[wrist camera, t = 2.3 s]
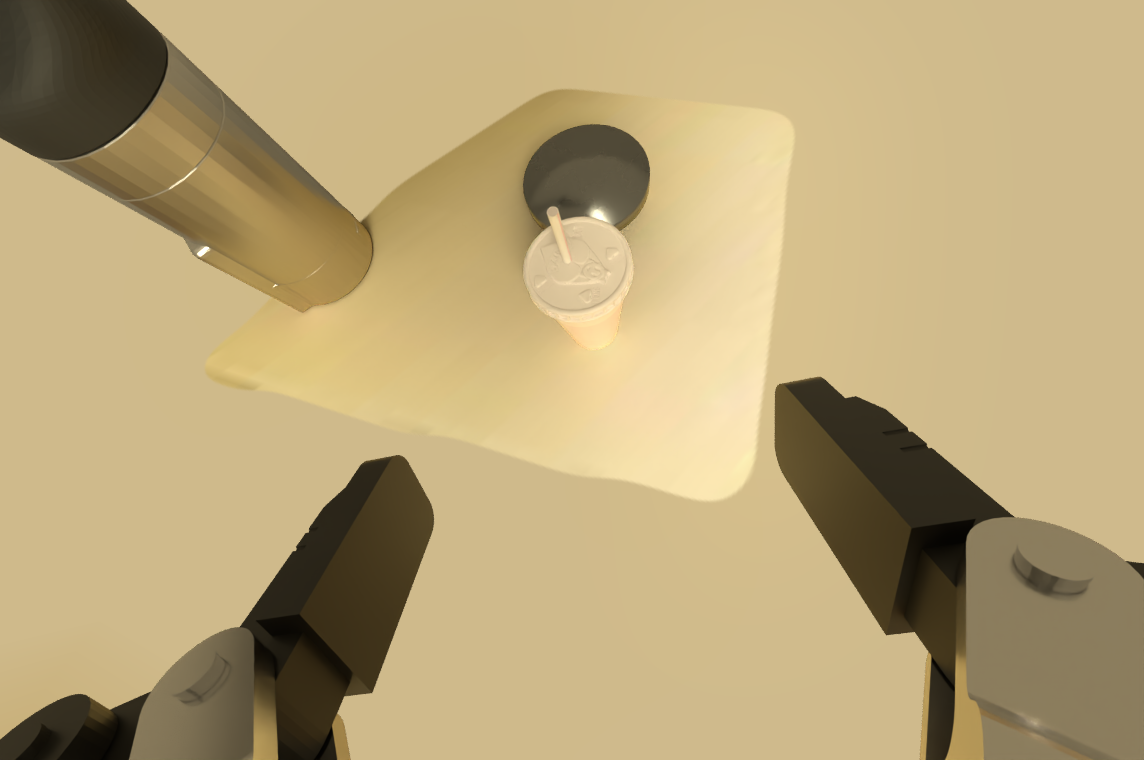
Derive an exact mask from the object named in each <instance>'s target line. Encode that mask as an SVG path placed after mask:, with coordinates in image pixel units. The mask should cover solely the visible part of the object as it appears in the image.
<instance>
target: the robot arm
mask: <svg viewBox="0 0 1144 760" xmlns="http://www.w3.org/2000/svg"><path fill="white" fill-rule="evenodd" d="M0 138H2V139H3V140H5V141H7V142H9V143H11V144H13V145H14V146H16V147H18V148H20V149H22V150H24V151H25V152H27V153H29V154H31V155H33V156H35V157H37V158H39V159H41V160H42V161H44V162H46V163H48V164H50V165H52V166H54V167H55V168H57V169H59V170H61V171H63V172H64V173H66V174H68V175H70V176H72V177H74V178H75V179H77V180H79V181H81V182H83V183H84V184H86V185H88V186H90V187H92V188H94V189H95V190H97V191H99V192H101V193H103V194H105V195H106V196H108V197H110V198H112V199H114V200H116V201H117V202H119V203H121V204H123V205H125V206H126V207H128V208H130V209H132V210H134V211H135V212H138V213H139V214H141V215H143V216H145V217H146V218H148V219H150V220H152V221H154V222H155V223H157V224H159V225H161V226H163V227H164V228H166V229H168V230H170V231H172V232H174V233H175V234H177V235H179V236H181V237H183V238H184V240H185V241H186V243H187V245H188V247H189V249H190V250H191V252H192V253H193V255H194V256H196V257H197V258H198V259H200V260H202V261H204V262H206V263H208V264H210V265H212V266H213V267H215V268H217V269H219V270H221V271H223V272H225V273H227V274H229V275H231V276H233V277H235V278H236V279H238V280H240V281H242V282H244V283H246V284H248V285H250V286H252V287H254V288H256V289H258V290H259V291H261V292H263V293H265V294H267V295H269V296H271V297H273V298H275V299H277V300H279V301H281V302H283V303H284V304H286V305H288V306H290V307H292V308H294V309H296V310H298V311H300V312H304V311H306V310H307V309H308V308H310V307H311V306H315V305H323V304H328V303H331V302H334V301H336V300H338V299H340V298H342V297H344V296H345V295H347V294H348V293H349V292H350V291H352V290H353V289H354V288H355V287H356V286H357V285H358V284H359V282H360V281H361V280H362V278H363V277H364V275H365V274H366V272H367V270H368V267H369V265H370V262H371V257H372V242H371V238H370V235H369V233H368V231H367V230H366V228H365V227H364V226H363V225H362V224H361V223H360V222H359V221H358V220H357V219H356V218H355V217H354V216H353V214H351V213H350V212H349V211H348V210H347V209H346V208H345V207H343V206H342V205H341V204H340V203H339V202H338V201H337V200H336V199H335V198H334V197H333V196H332V195H331V194H330V193H329V192H328V191H327V190H326V189H325V188H324V187H323V186H321V185H320V184H319V183H318V182H317V181H316V180H315V179H314V178H313V177H312V176H311V175H310V174H309V173H308V172H307V171H305V169H304V168H302V167H301V166H300V165H299V164H298V163H297V162H296V161H295V160H294V159H293V158H292V157H291V156H290V155H289V154H288V153H287V152H286V151H285V150H283V148H281V147H280V146H279V145H278V144H277V143H276V142H275V141H274V140H273V139H272V138H271V137H270V136H269V135H268V134H267V133H266V132H265V131H264V130H263V129H262V128H261V127H259V126H258V125H257V124H256V123H255V122H254V121H253V120H252V119H251V118H250V117H249V116H248V115H247V114H246V113H245V112H244V111H243V110H241V108H239V107H238V106H237V105H236V104H235V103H234V102H233V101H232V100H231V99H230V98H229V97H228V96H227V95H226V94H225V93H224V92H223V91H222V90H221V89H220V88H218V87H217V86H216V85H215V84H214V83H213V82H212V81H211V80H210V79H209V78H208V77H207V76H206V75H205V74H204V73H203V72H202V71H201V70H199V69H198V68H197V67H196V66H195V65H194V64H193V63H192V62H191V61H190V60H189V59H188V58H187V57H186V56H185V55H184V54H183V53H182V52H181V51H180V50H178V49H177V48H176V47H175V46H174V45H173V44H172V43H171V42H170V41H169V40H168V39H167V38H166V37H165V36H164V35H163V34H162V33H160V32H159V31H158V30H157V29H156V28H155V27H154V26H153V25H152V24H151V23H150V22H149V21H148V20H147V19H146V18H144V17H143V16H142V15H141V14H140V13H139V12H138V11H137V10H136V9H135V8H134V7H132V5H130V4H129V3H128V2H127V1H126V0H0ZM775 451H776V456H777V460H778V463H779V466H780V469H781V471H782V473H783V474H784V476H785V478H786V480H787V481H788V483H789V484H790V486H791V487H792V489H793V491H794V492H795V493H796V495H797V497H798V498H799V500H800V501H801V503H802V504H803V506H804V508H805V509H806V511H807V512H808V514H809V516H810V517H811V519H812V520H813V522H814V523H815V525H816V526H817V528H818V530H819V531H820V533H821V534H822V536H823V537H824V539H825V540H826V542H827V544H828V545H829V547H830V548H831V550H832V551H833V553H834V555H835V556H836V558H837V559H838V561H839V562H840V564H841V566H842V567H843V568H844V570H845V572H846V573H847V575H848V576H849V578H850V580H851V581H852V583H853V584H854V586H855V587H856V589H857V591H858V592H859V594H860V595H861V597H862V598H863V600H864V601H865V603H866V604H867V606H868V608H869V609H870V611H871V612H872V614H873V616H874V617H875V618H876V620H877V622H878V623H879V625H880V626H881V628H882V630H883V631H884V633H885V634H886V635H891V634H901V633H908V632H915V633H916V634H917V636H918V637H919V639H920V640H921V642H922V643H923V644H924V646H925V647H926V649H927V650H928V655H927V659H926V669H925V685H924V699H923V715H922V731H921V746H920V760H1144V563H1136V562H1129V561H1124V560H1123V559H1122V558H1121V557H1119V556H1118V555H1117V554H1115V553H1113V552H1112V551H1111V550H1109V549H1107V548H1106V547H1104V546H1102V545H1101V544H1099V543H1097V542H1095V541H1093V540H1091V539H1090V538H1087V537H1085V536H1083V535H1080V534H1078V533H1076V532H1074V531H1071V530H1068V529H1066V528H1063V527H1060V526H1057V525H1053V524H1050V523H1046V522H1042V521H1037V520H1032V519H1025V518H1016V517H1014V516H1013V515H1011V514H1010V513H1009V512H1008V511H1006V510H1005V509H1004V508H1003V507H1002V506H1001V505H999V504H998V503H997V502H996V501H994V500H993V499H992V498H991V497H990V496H989V495H987V494H986V493H985V492H984V491H983V490H981V489H980V488H979V487H978V486H977V485H975V484H974V483H973V482H972V481H971V480H969V479H968V478H967V477H966V476H965V475H963V474H962V473H961V472H960V471H959V470H958V469H956V468H955V467H954V466H953V465H952V464H950V463H949V462H948V461H947V460H945V459H944V458H943V457H942V456H941V455H940V454H938V453H937V452H936V451H935V450H934V449H932V448H928V447H927V444H926V443H925V442H924V441H923V440H922V439H921V438H919V437H918V436H917V435H916V434H915V433H913V432H909V431H908V428H907V427H906V426H905V425H904V424H903V423H901V422H900V421H899V420H898V419H897V418H895V417H894V416H893V415H892V414H891V413H889V412H888V411H887V410H886V409H884V408H881V407H879V406H877V405H875V404H872V403H870V402H868V401H865V400H863V399H861V398H858V397H856V396H855V397H850V398H844V397H843V396H842V395H841V394H840V393H839V392H838V391H837V390H835V389H834V388H833V387H832V386H831V385H830V384H829V383H828V382H827V381H826V380H825V379H823V378H821V377H815V378H809V379H804V380H799V381H793V382H789V383H783V384H779V385H778V386H777V387H776V391H775ZM433 525H434V515H433V509H432V506H431V503H430V501H429V499H428V498H427V496H426V494H425V492H424V490H423V488H422V487H421V485H420V483H419V481H418V479H417V478H416V476H415V474H414V472H413V470H412V469H411V467H410V465H409V463H408V461H407V460H406V459H405V458H404V457H403V456H400V455H396V456H391V457H386V458H380V459H375V460H370V461H366V462H364V463H362V464H361V466H360V467H359V468H358V470H357V471H356V473H355V474H354V476H353V477H352V479H351V480H350V482H349V483H348V485H347V486H346V488H344V489H343V490H342V491H341V492H340V493H339V494H338V495H337V496H336V497H335V498H333V499H332V500H331V501H330V502H329V503H328V504H327V505H326V506H325V507H324V508H323V509H322V511H321V512H320V513H319V515H318V516H317V518H316V519H315V521H314V522H313V524H312V525H311V526H310V528H309V533H305V535H304V536H303V538H302V539H301V541H300V542H299V543H298V545H297V546H296V548H297V550H296V551H293V552H292V554H291V555H290V556H289V558H288V559H287V561H286V562H285V564H284V565H283V567H282V568H281V569H280V571H279V572H278V574H277V575H276V576H275V578H274V579H273V581H272V582H271V583H270V585H269V586H268V588H267V589H266V591H265V592H264V593H263V595H262V596H261V598H260V599H259V601H258V602H257V603H256V605H255V606H254V608H253V609H252V611H251V612H250V613H249V615H248V616H247V618H246V619H245V621H244V622H243V623H242V625H241V626H240V627H237V628H230V629H227V630H224V631H222V632H219V633H217V634H215V635H213V636H211V637H209V638H207V639H206V640H204V641H203V642H201V643H200V644H198V645H197V646H195V647H194V648H193V649H191V650H190V651H189V652H187V653H186V654H185V655H184V656H183V657H182V658H180V659H179V660H178V661H177V662H176V663H175V664H174V665H173V666H172V667H171V668H170V669H169V670H168V671H167V672H166V673H165V675H164V676H163V677H162V678H161V679H160V680H159V682H158V683H157V684H156V686H155V687H154V689H153V690H152V691H151V692H149V693H147V694H144V695H142V696H140V697H138V698H135V699H133V700H131V701H129V702H126V703H124V704H122V705H120V706H117V707H115V708H113V709H111V710H109V709H107V708H106V707H104V706H103V705H101V704H99V703H98V702H96V701H95V700H93V699H91V698H90V697H88V696H87V695H83V694H75V695H71V696H68V697H65V698H62V699H60V700H57V701H56V702H53V703H52V704H50V705H48V706H46V707H45V708H43V709H41V710H39V711H38V712H36V713H34V714H33V715H32V716H30V717H29V718H27V719H26V720H24V721H23V722H22V723H20V724H19V725H18V726H16V727H15V728H14V729H12V730H11V731H10V732H9V733H8V734H6V735H5V736H4V737H3V738H2V739H0V760H351V759H350V753H349V748H348V742H347V737H346V731H345V726H344V723H343V720H342V718H341V717H340V715H339V714H337V712H338V710H339V707H340V705H341V703H342V700H343V698H344V696H351V695H358V694H367V693H372V692H373V689H374V687H375V684H376V681H377V679H378V676H379V673H380V671H381V668H382V665H383V663H384V660H385V657H386V655H387V652H388V649H389V646H390V644H391V641H392V639H393V636H394V633H395V630H396V628H397V625H398V622H399V619H400V617H401V614H402V612H403V609H404V606H405V604H406V601H407V598H408V596H409V593H410V590H411V587H412V584H413V582H414V579H415V577H416V574H417V571H418V569H419V566H420V563H421V561H422V558H423V555H424V553H425V550H426V547H427V544H428V542H429V539H430V536H431V534H432V531H433Z"/></svg>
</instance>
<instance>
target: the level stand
mask: <svg viewBox="0 0 1144 760" xmlns="http://www.w3.org/2000/svg"><path fill="white" fill-rule="evenodd" d="M649 182H650V167H649V161H648V158H647V155H646V153H645V151H644V149H643V148H642V146H641V145H640V144H639V142H638V141H636V140H635V139H634V138H633V137H632V136H631V135H629V134H628V133H626V132H624V131H622V130H620V129H617V128H615V127H611V126H606V125H582V126H578V127H574V128H571V129H567V130H565V131H563V132H561V133H559V134H557V135H555V136H553V137H552V138H550V139H549V140H548V141H546V142H545V143H544V144H543V145H542V146H541V147H540V148H539V149H538V150H537V151H536V152H535V154H534V155H533V157H532V158H531V160H530V162H529V164H528V166H527V168H526V171H525V175H524V182H523V189H524V196H525V199H526V202H527V204H528V207H529V210H530V212H531V214H532V216H533V218H534V220H535V221H536V222H537V223H538V225H539V226H540V227H541V228H543V229H544V230H545V229H546V228H547V227H549V226H551V224H550V221H549V218H548V215H547V210H548V209H549V208H550V207H556V208H557V209H558V211H559V214H560V218H561V220H564V219H567V218H572V217H593V218H597V219H600V220H603V221H605V222H608V223H609V224H611V225H613V226H614V227H615V228H617V229H618V230H619V231H620V230H622V229H623V228H625V227H626V226H627V225H629V224H630V223H631V222H632V221H633V220H634V219H635V218H636V216H637V215H638V214H639V213H640V211H641V209H642V208H643V206H644V204H645V202H646V199H647V196H648V192H649Z"/></svg>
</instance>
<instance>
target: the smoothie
mask: <svg viewBox="0 0 1144 760" xmlns="http://www.w3.org/2000/svg"><path fill="white" fill-rule="evenodd" d="M547 215H548V218H549V221H550V224H551V226H549V227H547V228H546V229H545V230H543V231H542V232H541V233H540V234H539V235H538V236H537V237H536V238H535V239H534V241H533V242H532V244H531V245H530V247H529V249H528V251H527V253H526V256H525V259H524V264H523V277H524V282H525V285H526V288H527V290H528V292H529V295H530V297H531V299H532V301H533V302H534V303H535V305H536V306H537V307H538V308H539V309H540V311H542V312H543V313H545V314H546V315H548V316H550V317H551V318H553V319H556V321H557V322H558V323H559V324H560V325H561V326H562V327H563V328H564V329H565V330H566V331H567V333H568V334H569V335H570V336H571V337H572V338H573V339H574V340H575V341H576V342H577V343H578V344H579V345H580V346H582V347H583V348H586V349H590V350H597V349H601V348H604V347H606V346H607V345H609V344H610V343H611V342H612V341H613V340H614V338H615V336H616V334H617V331H618V325H619V320H620V315H621V310H622V304H623V299H624V297H625V296H626V295H627V293H628V291H629V288H630V286H631V283H632V281H633V272H634V265H633V260H632V254H631V250H630V247H629V244H628V242H627V240H626V239H625V237H624V236H623V234H622V233H621V232H620V231H619V230H618V229H617V228H615V227H614V226H613V225H611V224H609V223H608V222H605V221H603V220H600V219H597V218H593V217H572V218H567V219H564V220H561V218H560V214H559V211H558V209H557V208H556V207H550V208H549V209H548V210H547Z"/></svg>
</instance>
